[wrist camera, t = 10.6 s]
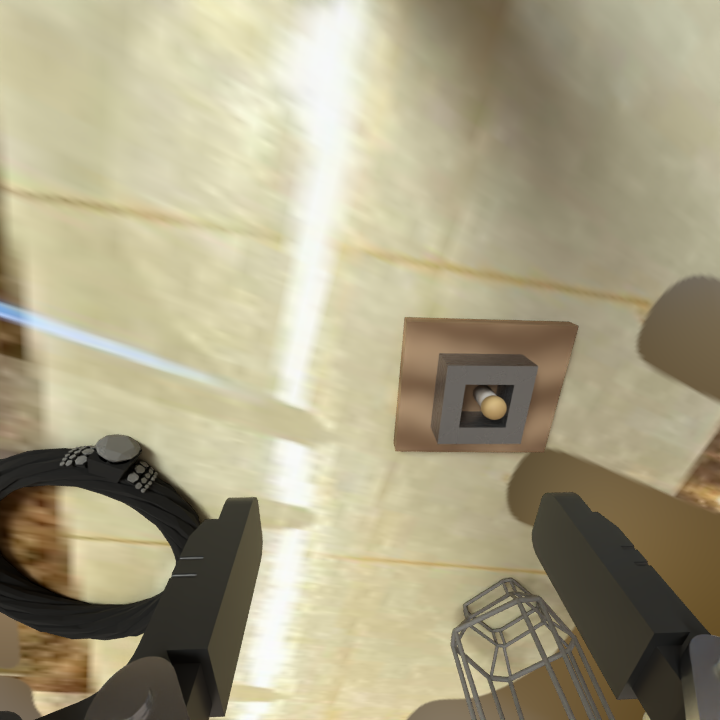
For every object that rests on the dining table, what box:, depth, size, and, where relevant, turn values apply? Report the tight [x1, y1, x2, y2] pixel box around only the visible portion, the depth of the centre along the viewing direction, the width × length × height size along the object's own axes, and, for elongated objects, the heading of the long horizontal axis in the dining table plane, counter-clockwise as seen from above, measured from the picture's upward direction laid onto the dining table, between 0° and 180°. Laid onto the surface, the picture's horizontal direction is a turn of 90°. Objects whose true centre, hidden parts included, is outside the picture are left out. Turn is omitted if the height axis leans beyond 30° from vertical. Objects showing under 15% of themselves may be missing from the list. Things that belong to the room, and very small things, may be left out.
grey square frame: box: [430, 353, 538, 444], centre depth 33 cm, size 8×8×3 cm
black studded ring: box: [0, 435, 200, 640], centre depth 40 cm, size 28×4×30 cm
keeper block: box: [394, 317, 579, 452], centre depth 34 cm, size 14×16×6 cm
